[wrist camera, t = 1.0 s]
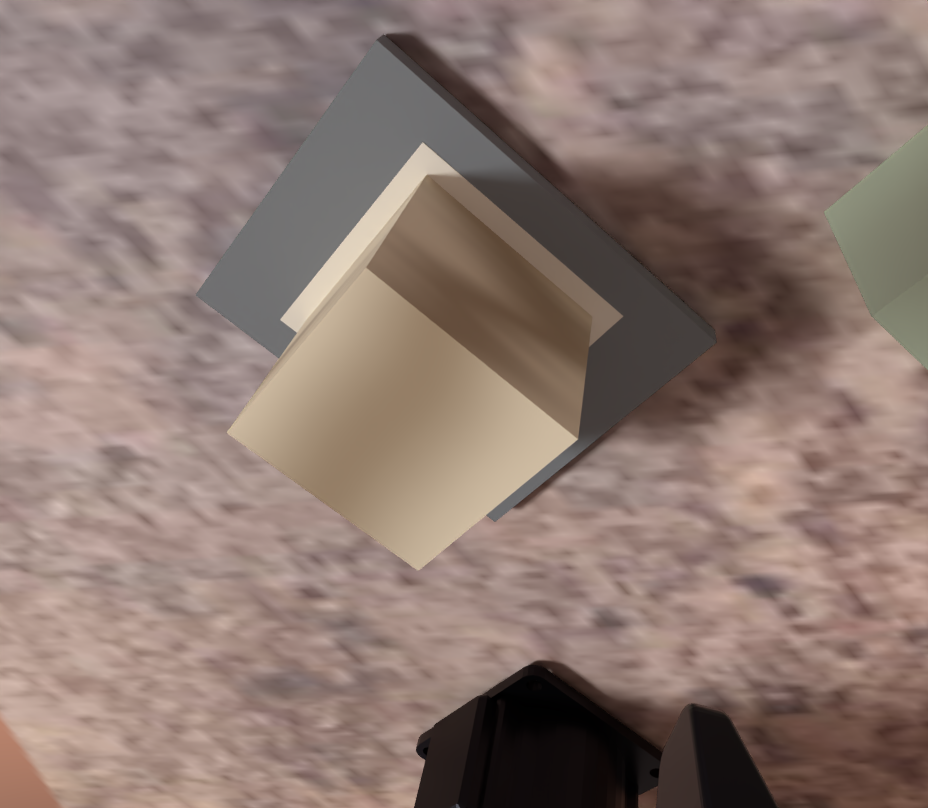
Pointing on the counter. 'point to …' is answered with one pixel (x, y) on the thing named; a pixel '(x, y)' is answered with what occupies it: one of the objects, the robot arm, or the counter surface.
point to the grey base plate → (481, 192)
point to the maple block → (425, 381)
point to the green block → (891, 242)
